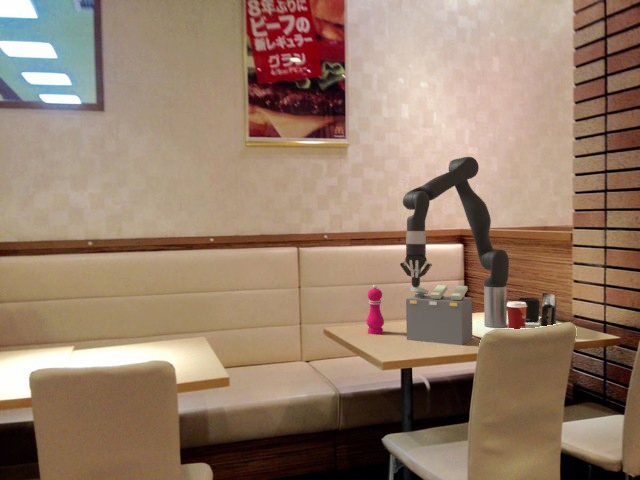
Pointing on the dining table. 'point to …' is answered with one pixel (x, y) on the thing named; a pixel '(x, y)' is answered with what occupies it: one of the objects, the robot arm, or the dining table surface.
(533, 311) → the pen holder
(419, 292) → the block
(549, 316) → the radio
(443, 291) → the block
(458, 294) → the rocker
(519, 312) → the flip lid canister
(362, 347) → the dining table surface
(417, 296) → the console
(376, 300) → the pepper mill
